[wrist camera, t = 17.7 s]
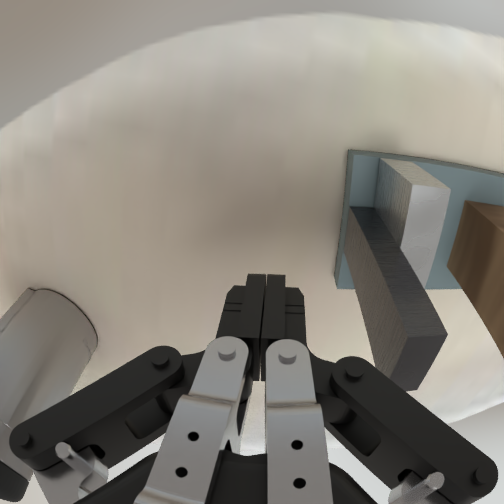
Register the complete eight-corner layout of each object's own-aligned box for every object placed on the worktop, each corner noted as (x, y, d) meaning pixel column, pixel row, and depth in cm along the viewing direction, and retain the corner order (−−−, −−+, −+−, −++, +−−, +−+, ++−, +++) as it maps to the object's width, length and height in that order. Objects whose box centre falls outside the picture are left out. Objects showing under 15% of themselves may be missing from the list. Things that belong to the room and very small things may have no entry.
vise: (334, 276, 21) (347, 342, 16) (348, 149, 17) (380, 181, 11) (525, 277, 20) (560, 320, 14) (554, 188, 15) (602, 221, 9)
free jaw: (337, 290, 20) (360, 429, 11) (354, 155, 15) (439, 249, 6) (385, 291, 20) (429, 421, 11) (411, 161, 15) (525, 253, 6)
